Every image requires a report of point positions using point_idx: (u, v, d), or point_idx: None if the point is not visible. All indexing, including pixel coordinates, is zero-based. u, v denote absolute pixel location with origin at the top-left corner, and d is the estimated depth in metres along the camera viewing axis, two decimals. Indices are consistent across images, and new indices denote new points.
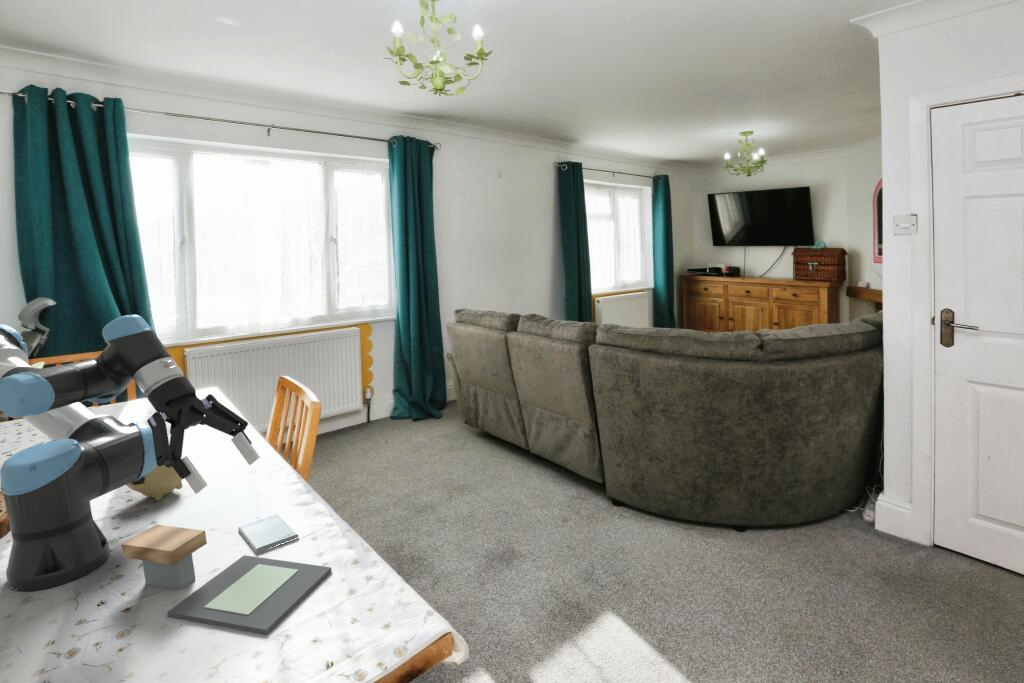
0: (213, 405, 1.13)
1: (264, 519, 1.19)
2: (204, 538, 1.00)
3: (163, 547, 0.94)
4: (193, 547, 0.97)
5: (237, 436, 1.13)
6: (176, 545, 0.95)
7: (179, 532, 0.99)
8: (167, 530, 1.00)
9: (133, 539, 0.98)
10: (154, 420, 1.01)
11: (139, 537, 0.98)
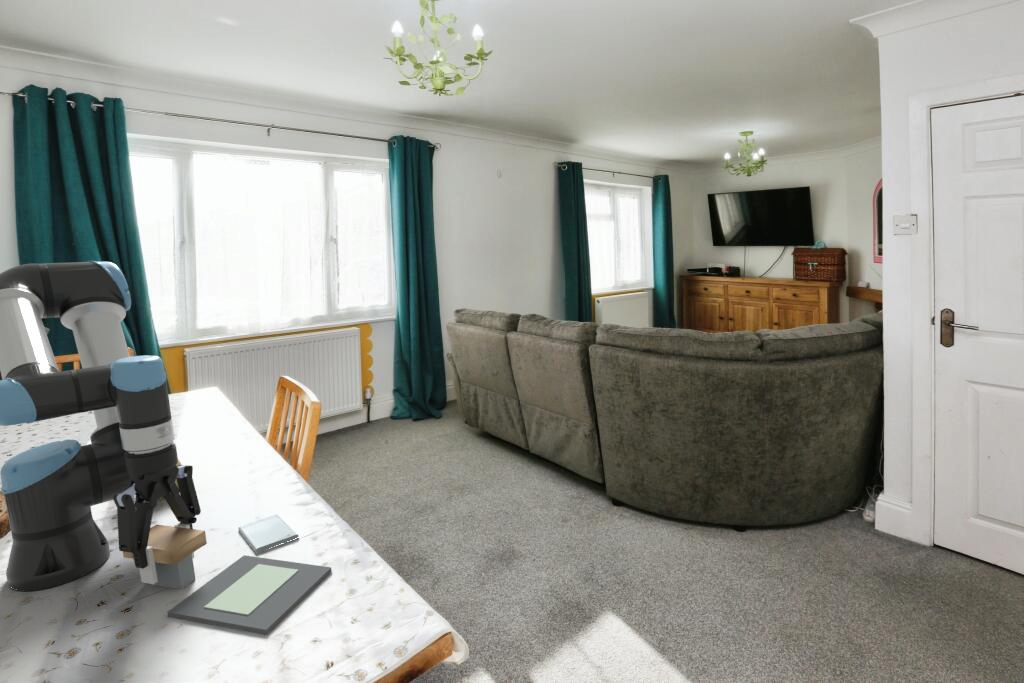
0: (185, 478, 1.01)
1: (264, 519, 1.19)
2: (204, 538, 1.00)
3: (163, 547, 0.94)
4: (193, 547, 0.97)
5: None
6: (176, 545, 0.95)
7: (180, 532, 0.99)
8: (167, 530, 1.00)
9: None
10: (122, 503, 0.90)
11: None
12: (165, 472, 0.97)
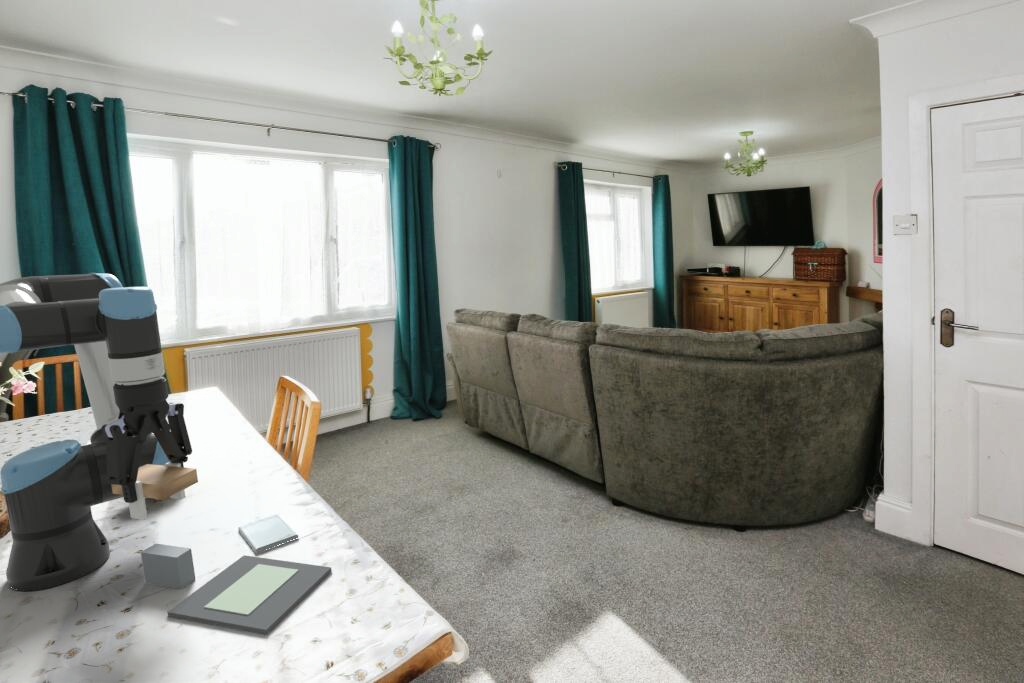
0: (176, 416, 0.99)
1: (264, 519, 1.19)
2: (195, 476, 0.98)
3: (153, 482, 0.93)
4: (184, 484, 0.95)
5: (173, 466, 0.99)
6: (166, 480, 0.93)
7: (170, 470, 0.97)
8: (158, 468, 0.98)
9: None
10: (111, 434, 0.88)
11: None
12: (155, 407, 0.95)
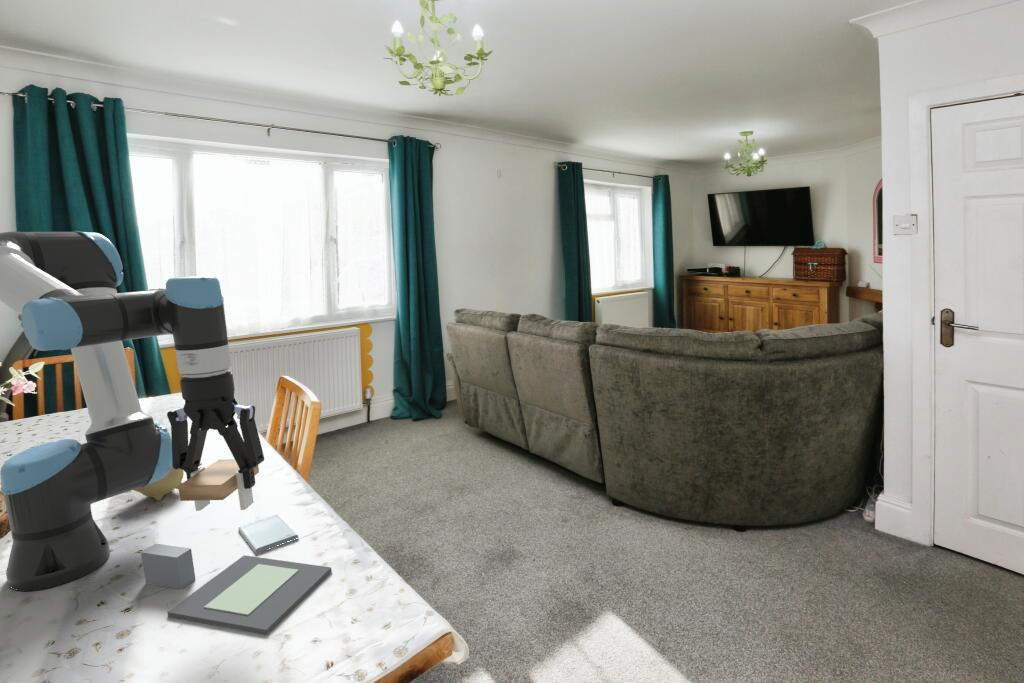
0: None
1: (264, 519, 1.19)
2: (219, 493, 0.87)
3: (191, 479, 0.89)
4: (205, 495, 0.87)
5: None
6: (192, 483, 0.88)
7: (225, 475, 0.90)
8: (237, 467, 0.93)
9: (226, 460, 0.97)
10: None
11: (229, 461, 0.96)
12: (213, 405, 0.89)
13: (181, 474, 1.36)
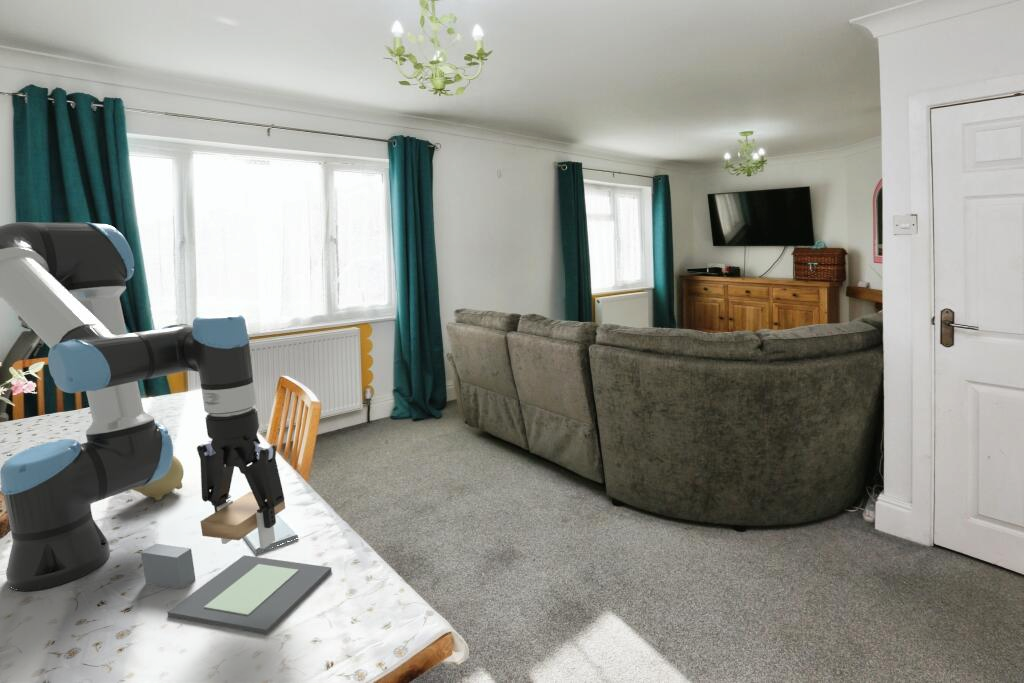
0: None
1: None
2: (236, 533, 0.86)
3: (215, 514, 0.90)
4: (223, 533, 0.87)
5: None
6: (214, 519, 0.88)
7: (246, 512, 0.90)
8: None
9: None
10: None
11: None
12: (236, 443, 0.89)
13: (181, 474, 1.35)
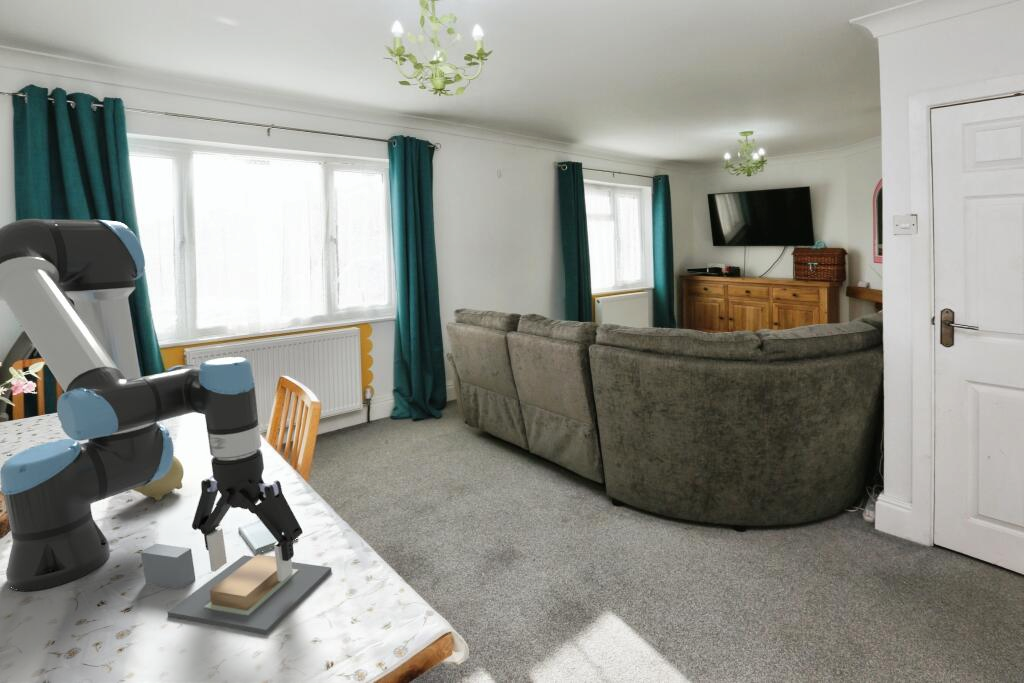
0: None
1: None
2: (244, 603, 0.89)
3: (224, 582, 0.92)
4: (232, 603, 0.89)
5: None
6: (223, 588, 0.91)
7: (254, 580, 0.92)
8: (268, 570, 0.95)
9: (262, 557, 0.99)
10: None
11: (264, 559, 0.99)
12: (241, 489, 0.90)
13: (181, 474, 1.35)
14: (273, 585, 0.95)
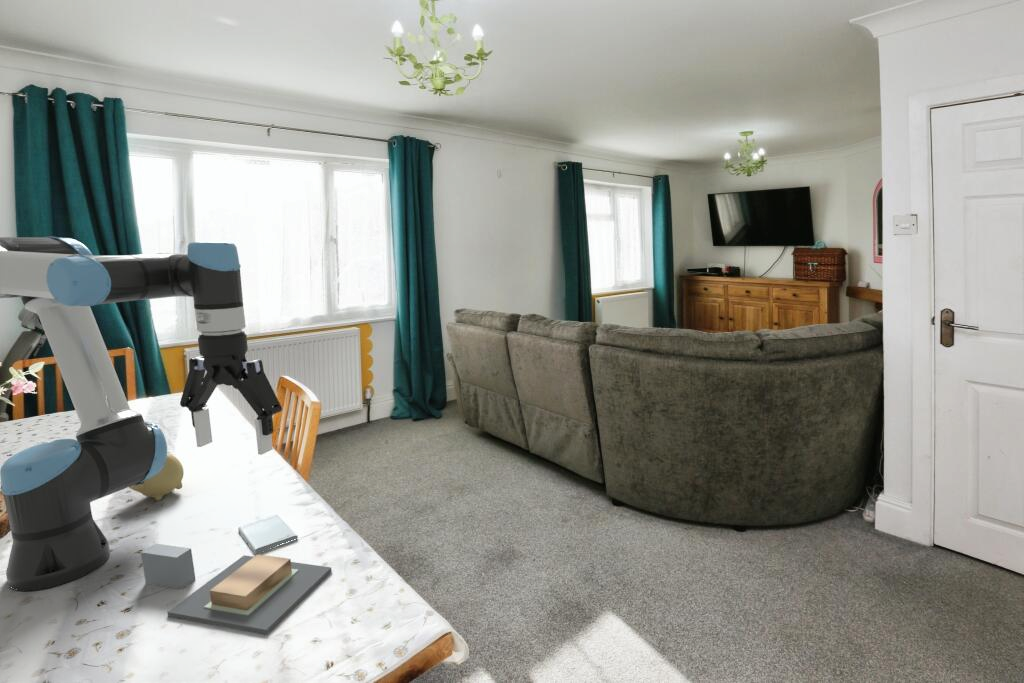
0: None
1: (264, 519, 1.19)
2: (244, 603, 0.89)
3: (224, 582, 0.92)
4: (232, 603, 0.89)
5: None
6: (223, 588, 0.91)
7: (254, 580, 0.92)
8: (268, 570, 0.95)
9: (262, 557, 0.99)
10: None
11: (264, 559, 0.99)
12: (225, 366, 0.96)
13: (181, 474, 1.36)
14: (273, 585, 0.95)
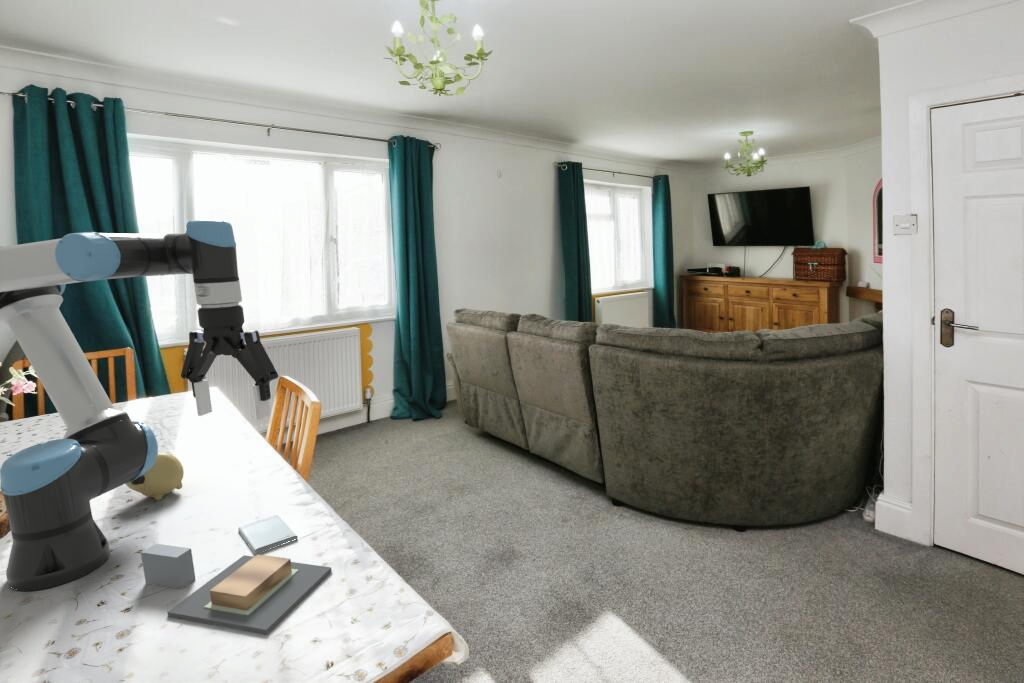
0: None
1: (264, 520, 1.19)
2: (244, 603, 0.89)
3: (224, 582, 0.92)
4: (232, 603, 0.89)
5: None
6: (223, 588, 0.91)
7: (254, 580, 0.92)
8: (268, 570, 0.95)
9: (262, 557, 0.99)
10: None
11: (264, 559, 0.99)
12: (224, 337, 1.03)
13: (181, 474, 1.36)
14: (273, 585, 0.95)
